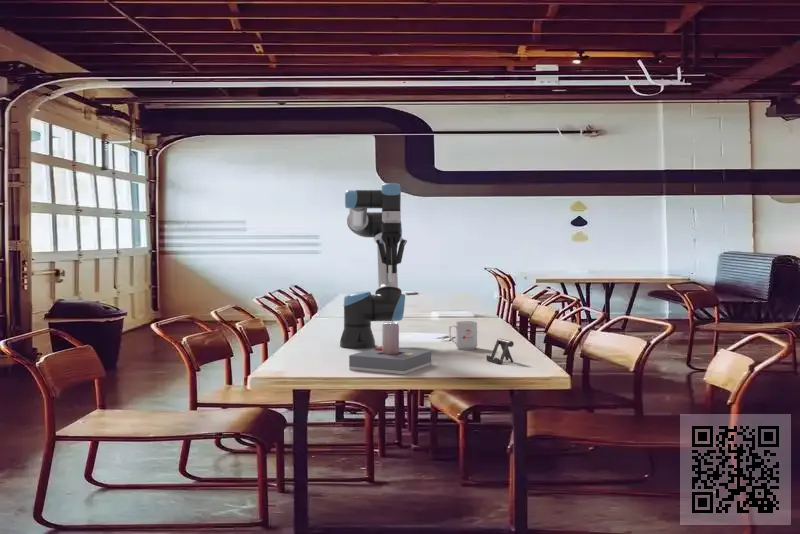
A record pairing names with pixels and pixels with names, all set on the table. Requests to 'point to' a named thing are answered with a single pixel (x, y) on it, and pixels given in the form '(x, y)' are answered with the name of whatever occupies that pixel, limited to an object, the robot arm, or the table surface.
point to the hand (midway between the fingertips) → (391, 281)
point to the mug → (465, 335)
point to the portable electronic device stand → (506, 353)
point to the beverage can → (390, 338)
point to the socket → (390, 361)
